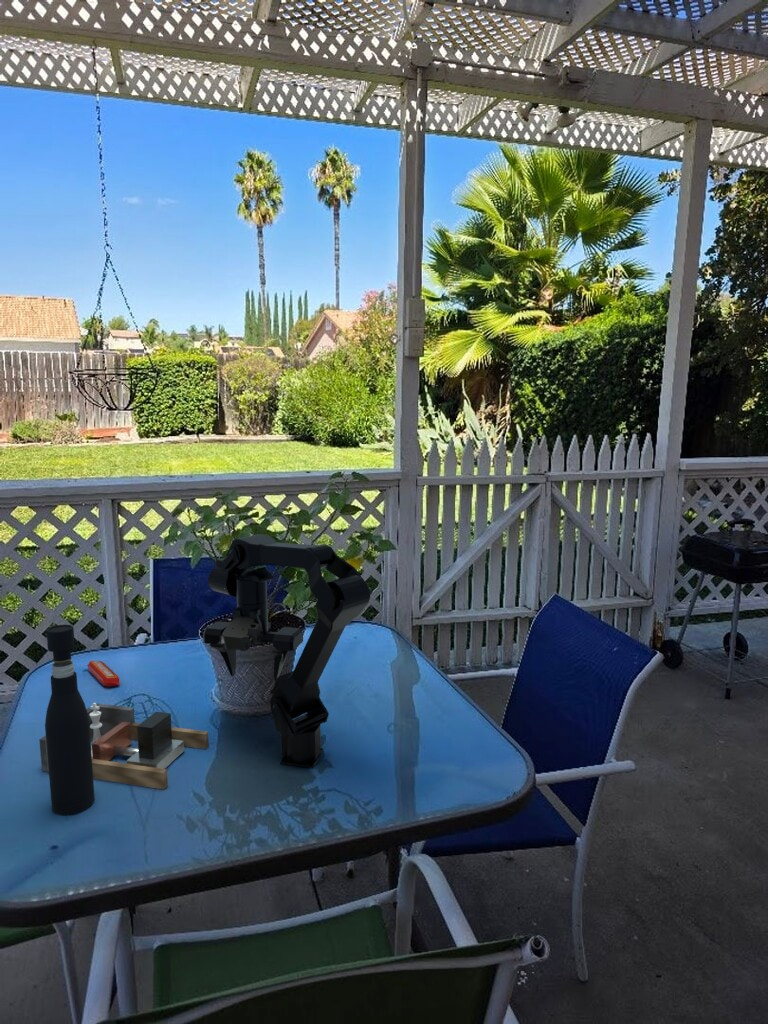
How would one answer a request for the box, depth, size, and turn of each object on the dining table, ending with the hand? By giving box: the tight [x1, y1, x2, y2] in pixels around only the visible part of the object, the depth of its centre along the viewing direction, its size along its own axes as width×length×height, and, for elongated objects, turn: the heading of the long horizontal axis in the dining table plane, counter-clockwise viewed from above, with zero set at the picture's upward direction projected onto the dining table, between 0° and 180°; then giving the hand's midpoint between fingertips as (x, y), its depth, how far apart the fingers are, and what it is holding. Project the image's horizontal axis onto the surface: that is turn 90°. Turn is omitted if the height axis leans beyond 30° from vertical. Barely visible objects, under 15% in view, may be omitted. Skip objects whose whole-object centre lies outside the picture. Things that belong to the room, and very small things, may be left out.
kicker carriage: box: [91, 711, 185, 769], centre depth 124 cm, size 13×9×8 cm
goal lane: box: [38, 702, 210, 790], centre depth 125 cm, size 25×15×6 cm, turn 76°
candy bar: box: [87, 660, 121, 687], centre depth 163 cm, size 16×4×3 cm, turn 39°
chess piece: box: [89, 702, 102, 759], centre depth 127 cm, size 5×5×10 cm
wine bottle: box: [44, 624, 96, 816], centre depth 109 cm, size 6×6×30 cm
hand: (254, 677), depth 133 cm, fingers open, 9 cm apart
